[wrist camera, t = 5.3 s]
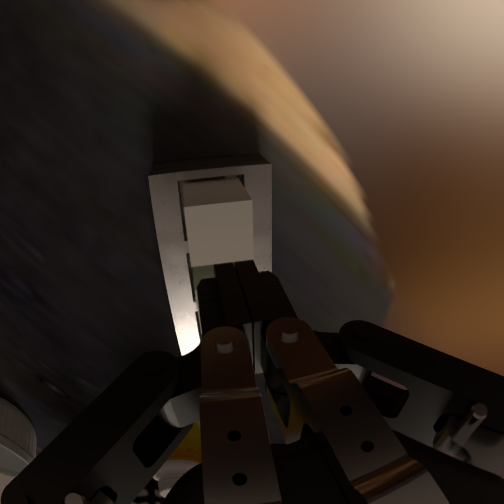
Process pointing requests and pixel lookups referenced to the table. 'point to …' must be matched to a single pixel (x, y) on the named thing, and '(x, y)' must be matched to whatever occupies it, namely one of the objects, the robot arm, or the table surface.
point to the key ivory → (218, 221)
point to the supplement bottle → (180, 460)
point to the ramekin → (15, 440)
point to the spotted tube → (149, 494)
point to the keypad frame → (175, 234)
